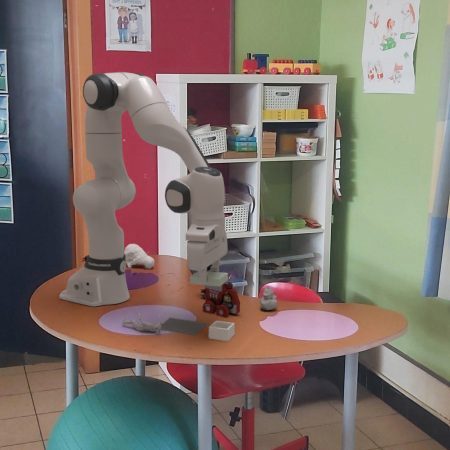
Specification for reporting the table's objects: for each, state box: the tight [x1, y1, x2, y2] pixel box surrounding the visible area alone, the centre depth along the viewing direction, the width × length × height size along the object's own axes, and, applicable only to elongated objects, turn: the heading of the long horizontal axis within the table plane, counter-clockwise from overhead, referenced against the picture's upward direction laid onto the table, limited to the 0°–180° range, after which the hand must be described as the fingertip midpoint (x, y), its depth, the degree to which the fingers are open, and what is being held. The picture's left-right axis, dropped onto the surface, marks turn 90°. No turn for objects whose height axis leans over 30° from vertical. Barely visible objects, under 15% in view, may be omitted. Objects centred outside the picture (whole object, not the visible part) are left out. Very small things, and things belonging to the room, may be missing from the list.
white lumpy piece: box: [124, 243, 155, 270], centre depth 252 cm, size 6×8×12 cm
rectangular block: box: [189, 270, 229, 287], centre depth 183 cm, size 8×6×2 cm
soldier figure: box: [122, 312, 162, 333], centre depth 188 cm, size 8×5×12 cm
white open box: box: [208, 320, 236, 342], centre depth 184 cm, size 6×6×4 cm
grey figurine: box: [259, 285, 278, 311], centre depth 208 cm, size 5×7×8 cm
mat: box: [161, 317, 209, 336], centre depth 191 cm, size 12×10×1 cm
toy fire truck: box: [202, 281, 241, 318], centre depth 203 cm, size 7×12×10 cm, turn 53°
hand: (209, 278), depth 183 cm, fingers closed on rectangular block, 6 cm apart
